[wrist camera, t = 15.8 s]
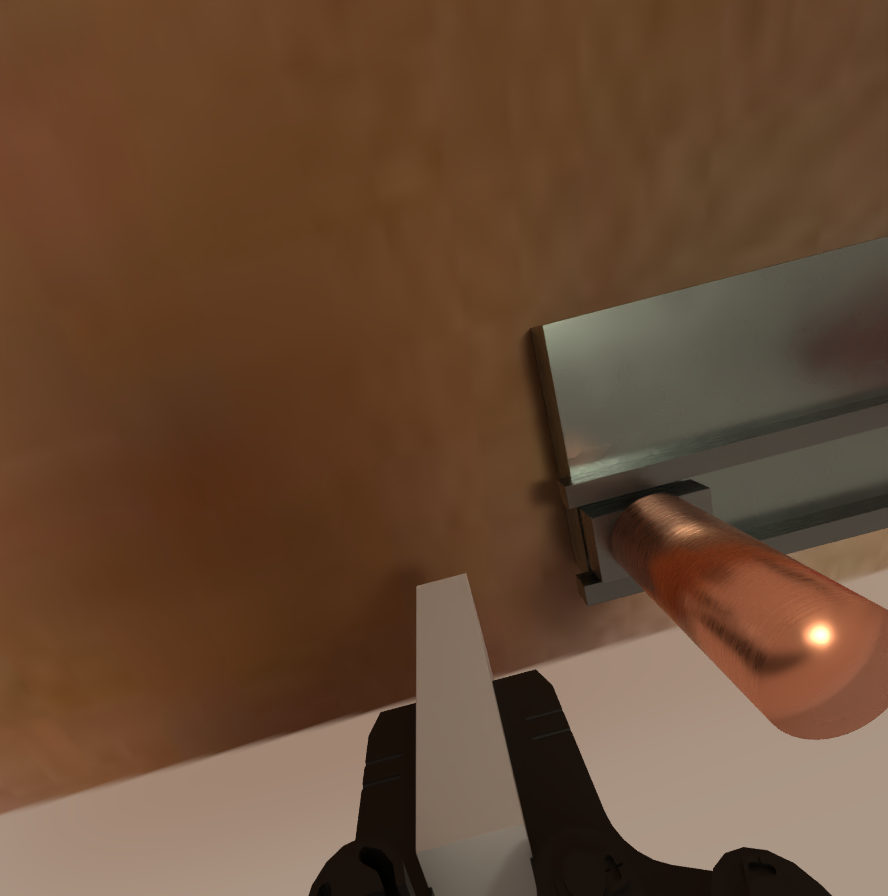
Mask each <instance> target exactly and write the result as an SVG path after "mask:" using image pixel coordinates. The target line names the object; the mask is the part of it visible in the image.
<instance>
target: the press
mask: <svg viewBox="0 0 888 896" xmlns="http://www.w3.org/2000/svg"><path fill="white" fill-rule="evenodd" d="M530 330H531V335H532V340H533V345H534V350H535V356H536V361H537V366H538V371H539V376H540V381H541V387H542V392H543V397H544V402H545V407H546V412H547V418H548V423H549V428H550V433H551V438H552V443H553V448H554V454H555V459H556V464H557V469H558V474H559V479H558V480H557V482H558V487H559V492H560V498H561V501H562V502H563V503H564V505H565V510H566V516H567V521H568V526H569V531H570V536H571V541H572V546H573V552H574V557H575V562H576V564H577V566H578V567H579V568H580V569H581V571H582V572H583V573H581V574H577V575H576V579H577V585H578V590H579V594H580V595H581V597H582V598H583V600H584V601H585V603H586V604H587V606H590V605H594V604H598V603H602V602H606V601H610V600H613V599H617V598H621V597H625V596H629V595H632V594H636V593H640V592H644V590H643V589H642V588H641V587H640V586H639V585H638V584H637V583H636V582H635V580H634V579H633V578H632V577H631V576H629V577H625V578H622V579H618V580H614V581H610V582H606V583H602V582H601V580H600V579H599V578H598V577H597V576H596V574H595V573H594V572H593V571H592V569H591V567H590V562H589V557H588V551H587V546H586V540H585V535H584V530H583V524H582V519H581V513H580V508H581V507H585V506H589V505H593V504H597V503H600V502H604V501H608V500H612V499H616V498H620V497H623V496H627V495H631V494H635V493H639V492H643V491H647V490H650V489H654V488H658V487H662V486H666V485H670V484H673V483H677V482H681V481H685V480H689V479H692V480H694V481H696V482H698V483H700V484H703V485H705V486H707V487H709V488H711V498H712V507H713V516H715V517H717V518H719V519H720V520H722V521H724V522H726V523H728V524H730V525H731V526H733V527H735V528H737V529H739V530H741V531H743V532H744V533H746V534H748V535H750V536H752V537H754V538H756V539H757V540H759V541H761V542H763V543H765V544H767V545H768V546H770V547H772V548H774V549H776V550H778V551H780V552H781V553H783V554H789V553H793V552H797V551H801V550H804V549H808V548H812V547H816V546H820V545H824V544H827V543H831V542H835V541H839V540H843V539H846V538H850V537H854V536H858V535H862V534H866V533H869V532H873V531H877V530H881V529H885V528H888V236H886V237H882V238H879V239H875V240H871V241H867V242H863V243H859V244H855V245H852V246H848V247H844V248H840V249H836V250H832V251H828V252H824V253H821V254H817V255H813V256H809V257H805V258H801V259H797V260H794V261H790V262H786V263H782V264H778V265H774V266H770V267H766V268H763V269H759V270H755V271H751V272H747V273H743V274H739V275H735V276H732V277H728V278H724V279H720V280H716V281H712V282H708V283H705V284H701V285H697V286H693V287H689V288H685V289H681V290H677V291H674V292H670V293H666V294H662V295H658V296H654V297H650V298H646V299H643V300H639V301H635V302H631V303H627V304H623V305H619V306H616V307H612V308H608V309H604V310H600V311H596V312H592V313H588V314H585V315H581V316H577V317H573V318H569V319H565V320H561V321H557V322H554V323H550V324H546V325H542V326H538V327H534V328H530Z"/></svg>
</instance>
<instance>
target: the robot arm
mask: <svg viewBox="0 0 888 896" xmlns="http://www.w3.org/2000/svg"><path fill="white" fill-rule="evenodd" d="M365 762H366V767H365V769H364V776H363V790H362V792H361V800H360V808H359V816H358V824H357V832H356V839H355V841H353V842H351V843H349V844H347V845H344V846H343V847H342V848H341V849H340V850H339V851H338V852H337V853H336V854H335V855H334V856H332V857H331V858H330V859H329V860H328V861H327V862H326V864H325V866H324V867H323V869H322V870H321V872H320V873H319V875H318V877H317V879H316V880H315V881H314V883H313V885H312V887H311V890H310V893H309V896H832V895H831V894H830V893H829V892H827V890H826V889H825V888H824V887H823V886H822V885H821V884H819V883H818V882H817V881H816V880H814V879H813V878H812V877H811V876H809V875H808V874H807V873H806V872H804V871H803V870H802V869H800V868H799V867H798V866H797V865H796V864H794V863H793V862H791V861H789V860H786V859H784V858H782V857H780V856H778V855H776V854H774V853H772V852H770V851H768V850H760V849H754V848H746V847H742V848H740V849H737V850H733V851H730V852H727V853H725V854H724V855H723V856H722V858H721V859H720V860H719V862H718V863H717V864H716V865H715V867H714V868H713V871H709V870H702V869H696V868H689V867H682V866H675V865H670V864H666V863H662V862H659V861H656V860H653V859H651V858H649V857H647V856H646V855H644V854H642V853H640V852H638V851H637V850H636V849H634V848H633V847H632V846H631V845H630V844H628V843H627V842H626V841H625V840H624V839H623V838H622V837H621V836H620V835H619V833H618V832H617V831H616V830H615V829H614V827H613V826H612V824H611V822H610V821H609V819H608V817H607V815H606V813H605V811H604V809H603V807H602V804H601V802H600V799H599V797H598V794H597V792H596V790H595V787H594V785H593V782H592V780H591V777H590V775H589V773H588V770H587V768H586V766H585V763H584V761H583V758H582V756H581V753H580V751H579V748H578V746H577V744H576V741H575V739H574V736H573V734H572V732H571V730H570V727H569V725H568V722H567V719H566V717H565V715H564V712H563V711H562V707H561V705H560V702H559V700H558V698H557V695H556V693H555V690H554V688H553V686H552V685H551V684H550V683H549V682H548V681H547V680H546V679H545V678H544V677H543V676H542V675H541V674H540V673H539V672H538V671H537V670H536V669H535V670H532V671H528V672H524V673H520V674H517V675H513V676H509V677H505V678H502V679H498V680H494V679H493V674H492V670H491V666H490V662H489V658H488V653H487V649H486V646H485V642H484V638H483V634H482V631H481V627H480V623H479V619H478V615H477V612H476V608H475V604H474V600H473V597H472V593H471V589H470V585H469V581H468V578H467V574H466V573H464V574H460V575H457V576H453V577H449V578H445V579H441V580H438V581H434V582H430V583H426V584H422V585H419V586H416V703H414V704H410V705H406V706H402V707H399V708H395V709H391V710H387V711H384V712H380V714H379V717H378V718H377V720H376V723H375V724H374V726H373V728H372V730H371V732H370V735H369V737H368V745H367V753H366V761H365Z"/></svg>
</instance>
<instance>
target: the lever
mask: <svg viewBox="0 0 888 896" xmlns="http://www.w3.org/2000/svg"><path fill="white" fill-rule="evenodd" d="M580 513H581V519H582V524H583V530H584V535H585V540H586V546H587V551H588V557H589V562H590V567H591V569H592V571H593V572H594V573H595V574H596V576H597V577H598V578H599V579H600V580H601V582H602V583H606V582H610V581H614V580H618V579H622V578H625V577H629V576H631V577H632V578H633V579H634V580H635V582H636V583H637V584H638V585H639V586H640V587H641V588H642V589H643V590H644V591H645V592H646V593H647V594H648V595H649V596H650V597H651V598H652V599H653V600H654V601H655V602H656V603H657V604H658V605H659V606H660V607H661V608H662V610H663V611H664V612H665V613H666V614H667V615H668V616H669V617H670V618H671V619H672V620H673V621H674V622H675V623H676V624H677V625H678V626H679V627H680V628H681V629H682V630H683V631H684V632H685V633H686V634H687V635H688V637H689V638H691V640H692V641H693V642H694V643H695V644H696V645H697V646H698V647H699V648H700V649H701V650H702V651H703V652H704V653H705V654H706V655H707V656H708V657H709V658H710V659H711V660H712V661H713V662H714V663H715V664H716V666H717V667H718V668H719V669H720V670H721V671H722V672H723V673H724V674H725V675H726V676H727V677H728V678H729V679H730V680H731V681H732V682H733V683H734V684H735V685H736V686H737V687H738V688H739V689H740V690H741V692H742V693H743V694H744V695H745V696H746V697H747V698H748V699H749V700H750V701H751V702H752V703H753V704H754V705H755V706H756V707H757V708H758V709H759V710H760V711H761V712H762V713H763V714H764V715H765V716H766V717H767V719H768V720H769V721H770V722H771V723H772V724H773V725H775V726H776V727H777V728H778V729H780V730H781V731H783V732H785V733H787V734H789V735H791V736H794V737H798V738H803V739H815V740H816V739H817V740H820V739H829V738H834V737H838V736H841V735H845V734H848V733H850V732H853V731H855V730H857V729H859V728H861V727H863V726H865V725H866V724H868V723H869V722H871V721H872V720H874V719H875V718H876V717H878V716H879V715H880V714H881V713H883V712H884V711H885V710H886V709H887V708H888V610H887V609H885V608H883V607H881V606H879V605H878V604H875V603H874V602H872V601H870V600H868V599H866V598H865V597H863V596H861V595H859V594H857V593H855V592H853V591H852V590H850V589H848V588H846V587H844V586H842V585H841V584H839V583H837V582H835V581H833V580H831V579H829V578H828V577H826V576H824V575H822V574H820V573H818V572H817V571H815V570H813V569H811V568H809V567H807V566H805V565H804V564H802V563H800V562H798V561H796V560H794V559H792V558H791V557H789V556H787V555H785V554H783V553H781V552H780V551H778V550H776V549H774V548H772V547H770V546H768V545H767V544H765V543H763V542H761V541H759V540H757V539H756V538H754V537H752V536H750V535H748V534H746V533H744V532H743V531H741V530H739V529H737V528H735V527H733V526H731V525H730V524H728V523H726V522H724V521H722V520H720V519H719V518H717V517H715V516H713V507H712V498H711V488H709V487H707V486H705V485H703V484H700V483H698V482H696V481H694V480H692V479H689V480H685V481H681V482H677V483H673V484H670V485H666V486H662V487H658V488H654V489H650V490H647V491H643V492H639V493H635V494H631V495H627V496H623V497H620V498H616V499H612V500H608V501H604V502H600V503H597V504H593V505H589V506H585V507H581V508H580Z"/></svg>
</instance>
